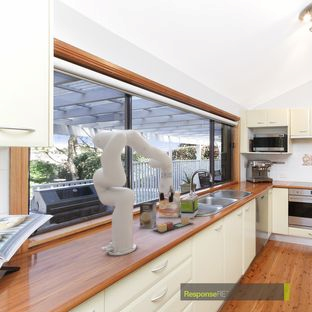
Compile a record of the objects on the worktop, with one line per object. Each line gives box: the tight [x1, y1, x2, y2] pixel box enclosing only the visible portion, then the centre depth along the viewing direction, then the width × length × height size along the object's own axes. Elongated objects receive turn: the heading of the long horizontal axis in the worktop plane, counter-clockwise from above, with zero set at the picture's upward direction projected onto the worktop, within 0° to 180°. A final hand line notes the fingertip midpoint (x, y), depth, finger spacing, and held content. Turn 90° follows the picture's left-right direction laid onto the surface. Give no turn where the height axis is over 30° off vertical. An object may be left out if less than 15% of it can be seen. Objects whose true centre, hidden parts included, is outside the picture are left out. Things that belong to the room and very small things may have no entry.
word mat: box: [152, 217, 194, 235], centre depth 146 cm, size 26×10×4 cm, turn 142°
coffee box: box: [139, 201, 158, 229], centre depth 147 cm, size 9×6×16 cm
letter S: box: [164, 220, 174, 230], centre depth 142 cm, size 4×4×4 cm
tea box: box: [180, 195, 199, 219], centre depth 175 cm, size 15×10×15 cm
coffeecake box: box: [158, 191, 181, 218], centre depth 173 cm, size 15×7×20 cm, turn 88°
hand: (166, 201), depth 144 cm, fingers open, 9 cm apart
